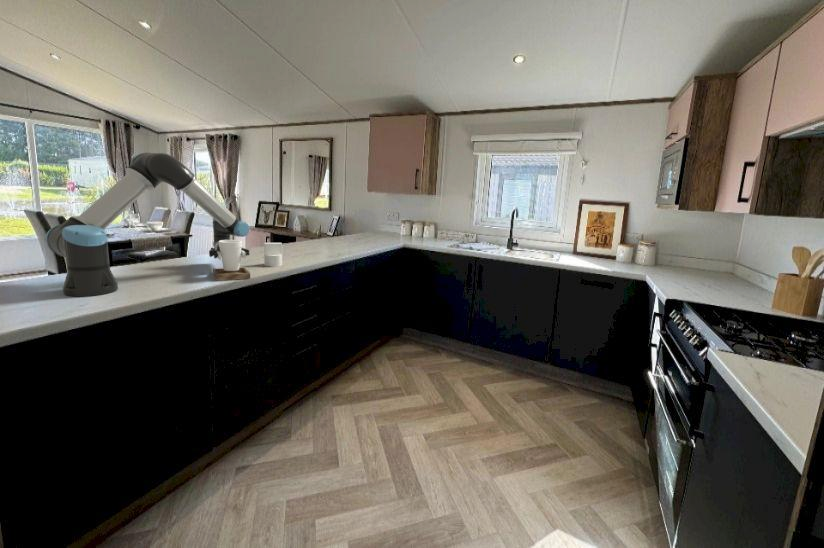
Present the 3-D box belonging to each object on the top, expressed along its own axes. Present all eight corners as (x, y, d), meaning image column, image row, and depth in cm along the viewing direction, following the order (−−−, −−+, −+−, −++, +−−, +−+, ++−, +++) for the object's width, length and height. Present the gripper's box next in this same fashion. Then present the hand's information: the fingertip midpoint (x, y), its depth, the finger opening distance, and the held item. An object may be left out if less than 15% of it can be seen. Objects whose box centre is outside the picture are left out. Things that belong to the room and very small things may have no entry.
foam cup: (233, 272, 164) (232, 243, 161) (215, 270, 166) (213, 241, 163) (247, 268, 173) (246, 240, 170) (229, 266, 175) (228, 239, 172)
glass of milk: (265, 266, 195) (265, 244, 193) (263, 263, 203) (263, 241, 200) (283, 266, 199) (283, 244, 197) (280, 263, 207) (280, 242, 205)
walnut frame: (216, 280, 161) (216, 275, 160) (213, 274, 172) (212, 268, 171) (250, 278, 168) (250, 273, 168) (244, 272, 179) (244, 267, 179)
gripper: (249, 254, 189) (259, 263, 171) (199, 256, 177) (204, 265, 159) (248, 240, 188) (258, 247, 170) (198, 241, 175) (203, 248, 157)
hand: (232, 256), depth 164 cm, fingers closed on foam cup, 9 cm apart
